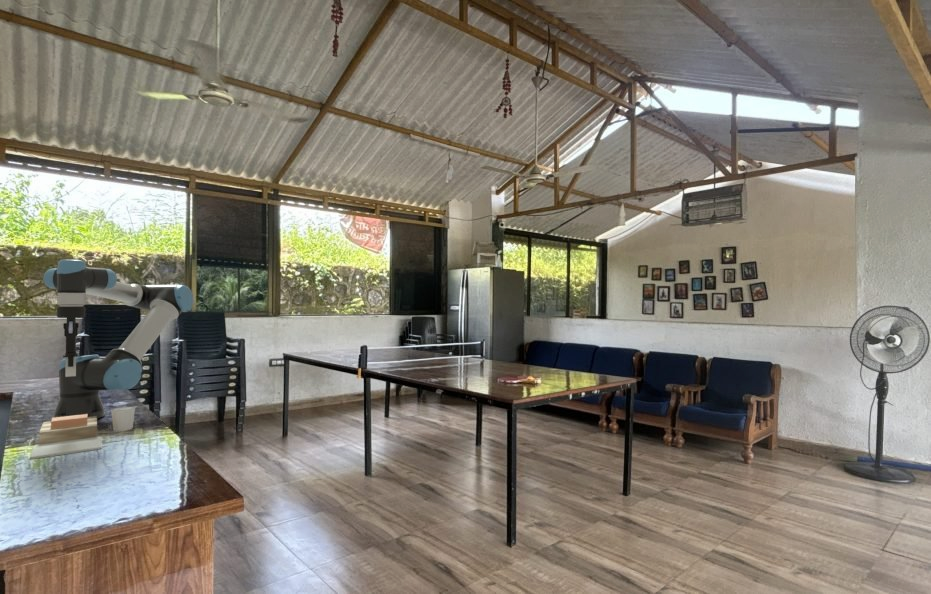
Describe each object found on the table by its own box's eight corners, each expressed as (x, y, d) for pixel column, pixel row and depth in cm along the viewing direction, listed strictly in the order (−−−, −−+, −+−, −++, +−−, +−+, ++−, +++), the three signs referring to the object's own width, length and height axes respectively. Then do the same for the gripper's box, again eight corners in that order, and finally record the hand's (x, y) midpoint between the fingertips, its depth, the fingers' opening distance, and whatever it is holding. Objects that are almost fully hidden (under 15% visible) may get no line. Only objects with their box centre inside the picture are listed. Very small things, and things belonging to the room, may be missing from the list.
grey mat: (34, 447, 148) (34, 445, 148) (100, 438, 157) (100, 436, 157) (29, 459, 137) (29, 457, 137) (101, 448, 146) (101, 446, 146)
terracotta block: (52, 424, 159) (52, 417, 159) (87, 420, 164) (87, 413, 164) (50, 428, 154) (51, 421, 154) (87, 424, 159) (87, 417, 159)
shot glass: (113, 427, 171) (113, 407, 171) (136, 425, 174) (136, 405, 174) (108, 432, 165) (108, 411, 165) (133, 430, 168) (133, 409, 168)
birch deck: (43, 434, 162) (43, 422, 162) (96, 427, 170) (96, 416, 170) (39, 445, 149) (39, 432, 149) (97, 438, 158) (97, 425, 158)
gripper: (58, 305, 169) (57, 374, 169) (55, 306, 159) (55, 379, 158) (85, 305, 173) (85, 372, 173) (85, 306, 163) (84, 377, 163)
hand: (70, 376), depth 166 cm, fingers closed
